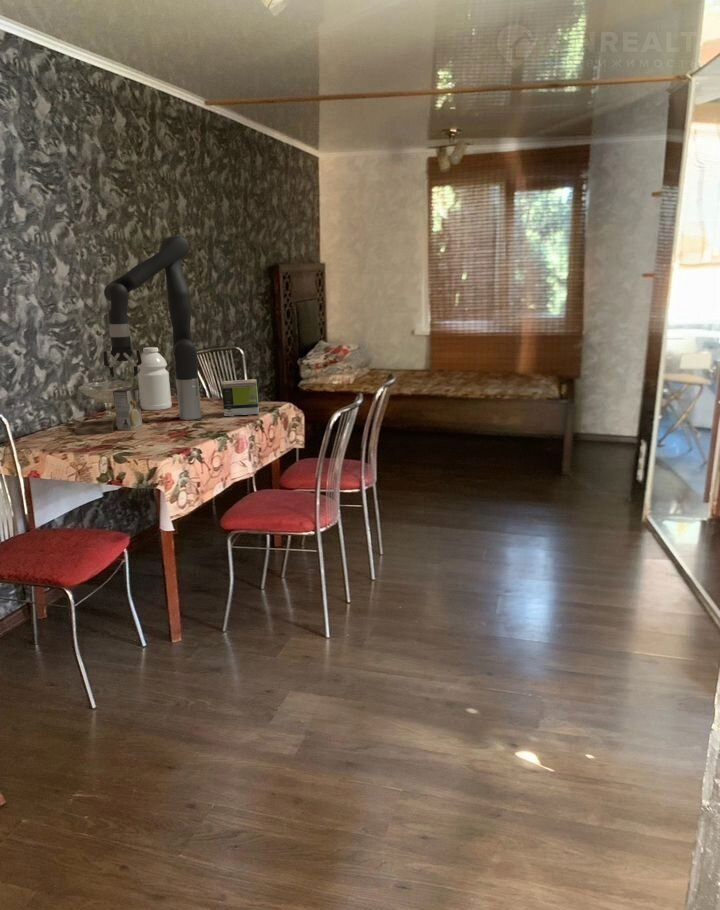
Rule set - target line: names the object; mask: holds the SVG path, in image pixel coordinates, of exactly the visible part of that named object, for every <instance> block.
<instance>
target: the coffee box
mask: <svg viewBox="0 0 720 910" xmlns="http://www.w3.org/2000/svg"><path fill="white" fill-rule="evenodd" d="M112 395H113V402H114V408H115V409H114V411H115V417H116V419H115V420H116V425H117V426H116V427H117V430H118V431H132V430H135V429H137V428H138V427H139V428H140V427H142V426H143V419H142V411H141V409H142V408H141V400H140V392H139V386H136V387H129V386H128V387H122V388H119V389H115V390H112Z"/></svg>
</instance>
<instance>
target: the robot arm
mask: <svg viewBox="0 0 720 910" xmlns="http://www.w3.org/2000/svg"><path fill="white" fill-rule="evenodd" d="M189 252H190V244H189V241H188V240H187V239H186V238H185V237H184V236H180V235H172V236H167V237H164V238H163V240H162V241H161V245H160V251H158V252H157V253H156V254H154V255H152V256H150V257H149V258H147V259H145V260H143V261H142V262H140V263H138V264H137V265H134V266H133V267H132V268H131V269H129V270H128V271H127V272H126V273H124V274H123V275H121V276H120V277H118V278H116V279H114V280H113V281H111V282H109V283H108V284H107V285H106V286H105V288H104V290H103V295H104V297H105V299H106V300H107V301H109V302H110V309H109V311H108V321H109V338H110V345H111V350H104V351H103V366H104V367H108V368H109V374H110V376H112V377H111V378H114V377H115V367H114V365H115V363H116V361H118V362H122V361H123V362H128V361H129V362H130V363H131V364H132V365H133V375H134V377H137V376H138V373H139V370H138V369H139V368H138V365H141V364H142V360H141V356H142V355H141V350H140V348H137V349H133V348H132V339H131V330H130V326H129V317H128V306H129V293H130V292H131V291H135V290H137V289H139V288H141V286H143V285H144V284H145V283H147V282H148V281H149V280H150V279H152V278H153V277H154V276H156V274H158V273H159V272H161V271H162V270H164V272H165V281H166V283H165V284H166V292H167V294H166V295H167V304H168V312H169V316H170V317H169V318H170V322H171V326H172V353H173V356H174V363H175V364H174V365H175V382H176V393H177V394H176V395H177V403H178V415H179V419H180V420H184V421H185V420H186V421H187V420H188V421H190V420H197V419H202V408H201V407H202V406H201V395H200V386H199V385H200V383H199V366H198V365H199V364H198V363H199V362H198V353H197V352H198V351H197V348H196V346H195V345H194V343H193V338H192V331H191V320H192V301H191V300H192V299H191V290H190V289H189V286H188V283H187V280H186V278H185V276H184V273H183V267H182V259H184V258H186V257H187V255H188V254H189ZM133 354H134V356H137V361H135V359H134V358H133V356H132V355H133ZM110 355H111V356H112V357H113V358H112V360H111V362H110V363H109V357H110Z"/></svg>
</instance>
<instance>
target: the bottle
mask: <svg viewBox="0 0 720 910" xmlns="http://www.w3.org/2000/svg"><path fill="white" fill-rule="evenodd" d="M159 351H160V350H159V348H158V347H157V346H156V347H155V346H151V347H144V348H143V350H142V352H143V354H142V355H141V360H142V364H141V365H138V369H139V371H138V374H137V381H138V391H139V400H140V409H142V410H144V411H159V410H160V411H161V410H165V409H170V408H171V407H172V406H173V405H172V403H173V402H172V395H171V386H170V385H171V384H170V372H169V371H168V370H167V369H166V368H167V366H168V363H167V360H166V359H165V357H163V356H162V354H161V353H159Z"/></svg>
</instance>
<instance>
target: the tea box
mask: <svg viewBox="0 0 720 910" xmlns="http://www.w3.org/2000/svg"><path fill="white" fill-rule="evenodd" d="M221 395H222V406H223V415H224V416H231V417H235V416H234V415H247V414H258V413H259V414H260V412H259V411H260V409H259V406H260V405H259V393H258V382H257V379H256V378H255V379H238V380H223V381H222V383H221Z"/></svg>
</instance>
